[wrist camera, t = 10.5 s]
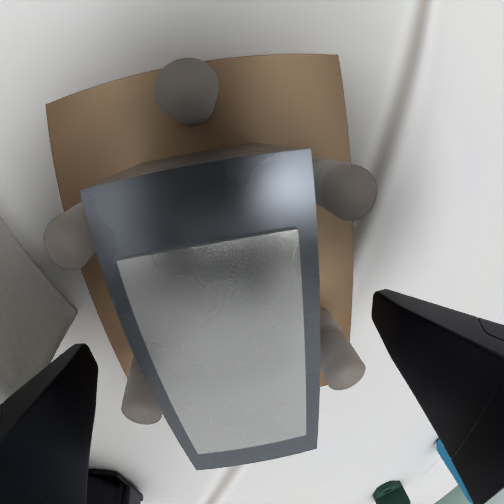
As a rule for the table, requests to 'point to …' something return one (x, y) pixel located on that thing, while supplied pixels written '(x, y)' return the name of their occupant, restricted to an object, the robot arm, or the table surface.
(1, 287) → the box
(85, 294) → the table surface
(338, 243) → the pin tray
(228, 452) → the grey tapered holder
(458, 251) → the table surface
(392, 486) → the mount
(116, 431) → the table surface
